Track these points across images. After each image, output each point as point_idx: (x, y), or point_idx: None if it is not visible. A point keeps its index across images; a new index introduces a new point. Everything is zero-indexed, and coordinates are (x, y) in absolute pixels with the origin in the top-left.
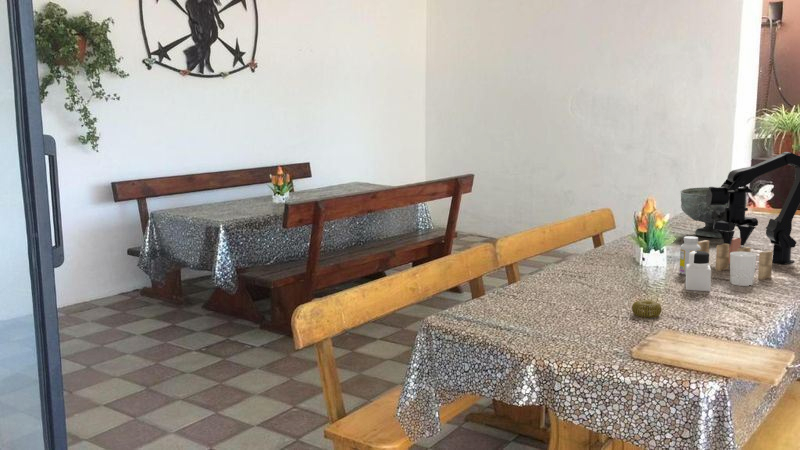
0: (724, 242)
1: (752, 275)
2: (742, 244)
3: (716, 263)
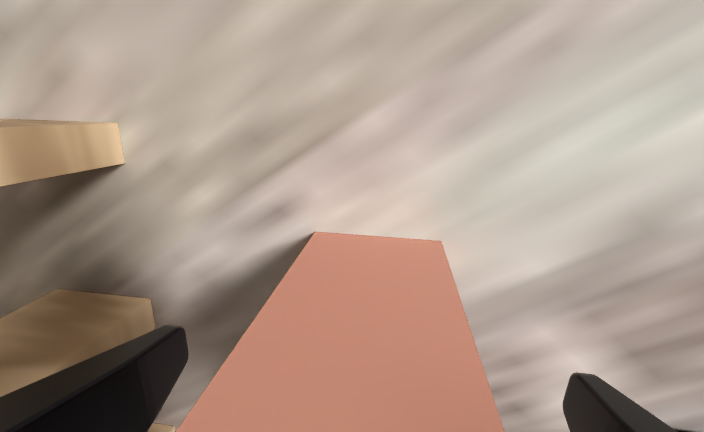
0: (52, 387)
1: None
2: (569, 409)
3: (2, 322)
